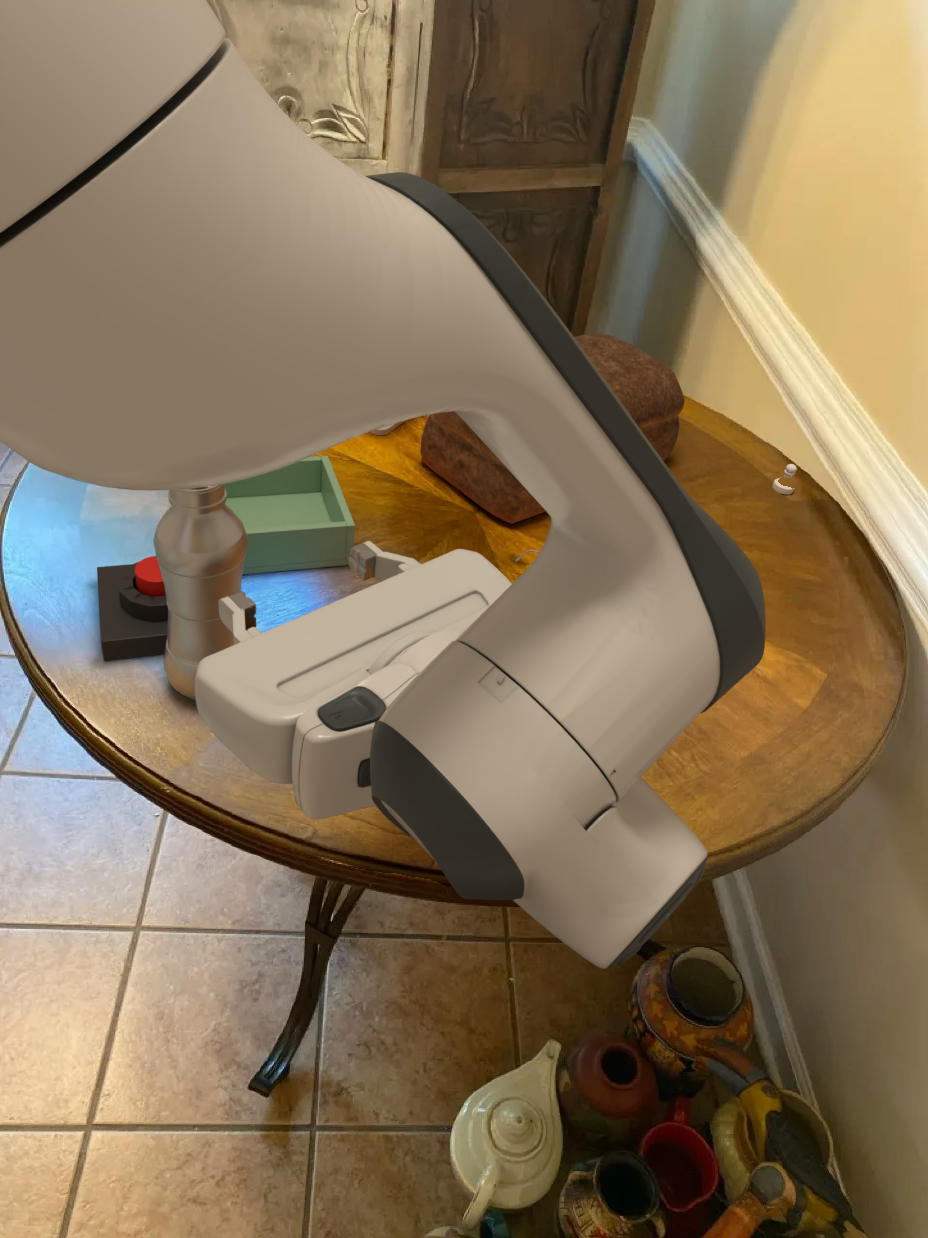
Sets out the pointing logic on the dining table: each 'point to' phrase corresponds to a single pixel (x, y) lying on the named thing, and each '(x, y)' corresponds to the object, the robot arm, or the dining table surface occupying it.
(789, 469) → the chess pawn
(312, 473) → the tray
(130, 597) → the block
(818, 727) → the dining table surface
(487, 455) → the bread
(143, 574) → the button
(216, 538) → the metal bottle
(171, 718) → the dining table surface
